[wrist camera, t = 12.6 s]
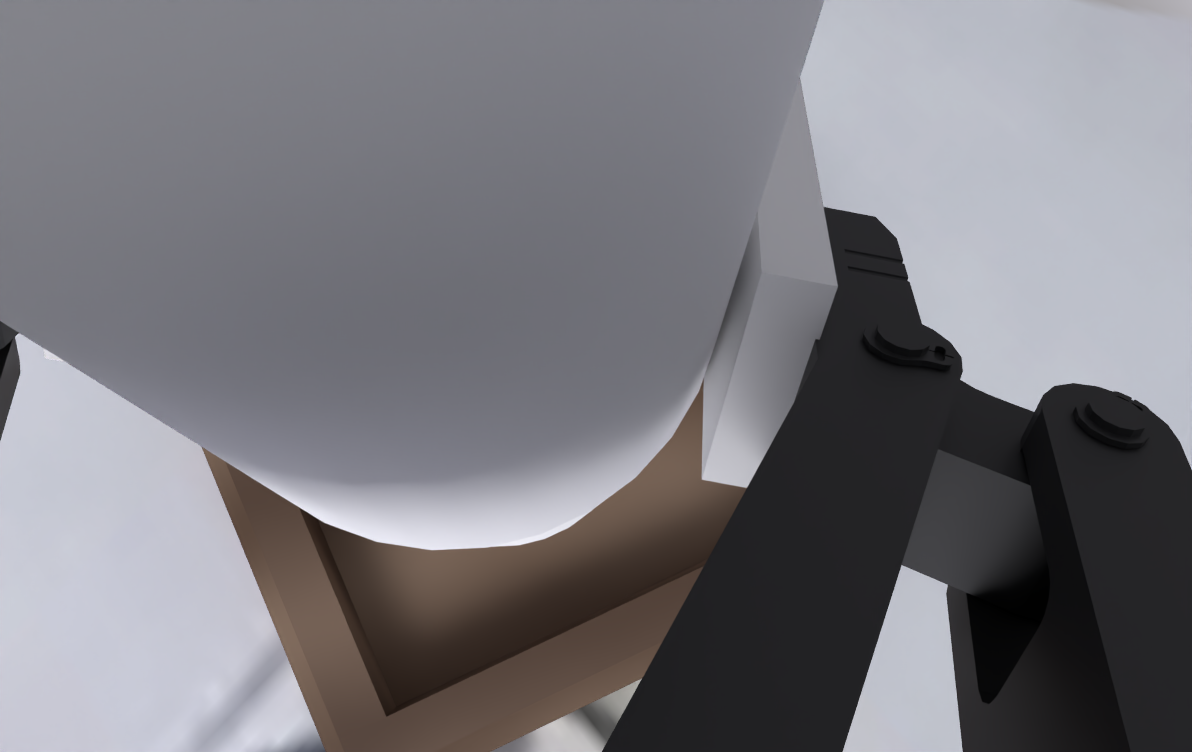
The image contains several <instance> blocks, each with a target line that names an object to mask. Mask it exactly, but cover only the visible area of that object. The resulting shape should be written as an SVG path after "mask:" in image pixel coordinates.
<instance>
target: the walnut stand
mask: <svg viewBox="0 0 1192 752" xmlns="http://www.w3.org/2000/svg"><path fill="white" fill-rule="evenodd" d="M703 392H704V378H703V381H702V384H701V387H700V390H699V392H698V394H697V396H696V397H695V399H694V401H693V402H692V404H691V406H690V407H689V409H688V411H687V413H686V414H685V416H684V418H683V419H682V421H681V423H680V424H679V426H678V428H677V429H676V431H675V433H674V435H673V436H672V438H671V439H670V440H669V441H668V442H667V443H666V444H665V446H664V447H663V448H662V449H661V450H660V451H659V452H658V453H657V454H656V456H655V457H654V458H653V459H652V460H651V461H650V462H649V463H648V464H647V466H646V467H645V468H644V469H643V470H642V471H641V472H640V473H639V474H638V476H637V477H636V478H634V479H633V480H632V481H630V482H629V483H628V484H626V485H625V486H624V487H622V488H621V489H620V490H618V491H617V492H616V493H614V494H613V495H612V496H610V497H609V498H608V499H606V500H605V501H604V502H602V503H601V504H600V505H598V506H597V507H596V508H594V509H593V510H592V511H591V512H589V513H588V514H587V515H585V516H584V517H583V518H581V519H580V520H579V521H577V522H576V523H575V524H573V525H572V526H571V527H569V528H567V529H565V530H563V531H561V532H558V533H556V534H554V535H552V536H550V537H548V538H546V539H542V540H538V541H534V542H530V543H526V544H522V545H517V546H496V547H488V548H468V549H447V550H427V549H420V548H414V547H407V546H400V545H394V544H387V543H381V542H375V541H373V540H370V539H367V538H365V537H362V536H359V535H356V534H354V533H351V532H348V531H345V530H343V529H340V528H337V527H334V526H332V525H329V524H326V523H324V522H322V521H321V520H319V519H317V518H316V517H314V516H312V515H311V514H309V513H308V512H306V511H304V510H303V509H301V508H299V507H298V506H296V505H295V504H293V503H291V502H290V501H288V500H287V499H285V498H283V497H282V496H280V495H278V494H277V493H275V492H274V491H272V490H270V489H269V488H267V487H266V486H264V485H262V484H261V483H259V482H258V481H256V480H254V479H253V478H251V477H250V476H248V475H246V474H245V473H243V472H242V471H240V470H238V469H237V468H235V467H234V466H232V465H230V464H229V463H227V462H226V461H224V460H222V459H221V458H219V457H217V456H216V455H214V454H213V453H211V452H209V451H208V450H206V449H205V448H203V447H202V449H203V451H204V454H205V456H206V459H207V461H208V464H209V466H210V469H211V471H212V474H213V476H214V478H215V481H216V483H217V486H218V488H219V491H220V493H221V496H222V498H223V501H224V503H225V505H226V508H227V510H228V513H229V515H230V518H231V520H232V523H233V525H234V527H235V530H236V532H237V535H238V537H239V540H240V542H241V545H242V547H243V550H244V552H245V554H246V557H247V559H248V562H249V564H250V567H251V569H252V572H253V574H254V577H255V579H256V581H257V584H258V586H259V589H260V591H261V594H262V596H263V599H264V601H265V603H266V606H267V608H268V611H269V613H270V616H271V618H272V621H273V623H274V626H275V628H276V630H277V633H278V635H279V638H280V640H281V643H282V645H283V648H284V650H285V653H286V655H287V657H288V660H289V662H290V665H291V667H292V670H293V672H294V675H295V677H296V679H297V682H298V684H299V687H300V689H301V692H302V694H303V697H304V699H305V702H306V704H307V706H308V709H309V711H310V714H311V716H312V719H313V721H314V724H315V726H316V729H317V731H318V733H319V736H320V738H321V741H322V743H323V746H324V748H325V751H326V752H490V751H493V750H495V749H497V748H499V747H501V746H503V745H505V744H507V743H509V742H511V741H513V740H515V739H517V738H519V737H522V736H524V735H526V734H528V733H530V732H532V731H534V730H536V729H538V728H540V727H542V726H544V725H546V724H548V723H550V722H553V721H555V720H557V719H559V718H561V717H563V716H565V715H567V714H569V713H571V712H573V711H575V710H577V709H579V708H581V707H584V706H586V705H588V704H590V703H592V702H594V701H596V700H598V699H600V698H602V697H604V696H606V695H608V694H610V693H612V692H615V691H617V690H619V689H621V688H623V687H625V686H627V685H629V684H631V683H633V682H635V681H637V680H639V679H641V678H643V676H644V674H645V672H646V671H647V669H648V667H649V665H650V663H651V662H652V660H653V658H654V656H655V654H656V652H657V651H658V649H659V647H660V645H661V643H662V642H663V640H664V638H665V636H666V634H667V632H668V631H669V629H670V627H671V625H672V623H673V622H674V620H675V618H676V616H677V614H678V612H679V611H680V609H681V607H682V605H683V603H684V602H685V600H686V598H687V596H688V594H689V592H690V591H691V589H692V587H693V585H694V583H695V581H696V580H697V578H698V576H699V574H700V572H701V571H702V569H703V567H704V565H705V563H706V561H707V560H708V558H709V556H710V554H711V552H712V551H713V549H714V547H715V545H716V543H717V541H718V540H719V538H720V536H721V534H722V532H723V531H724V529H725V527H726V525H727V523H728V521H729V520H730V518H731V516H732V514H733V512H734V511H735V509H736V507H737V505H738V503H739V501H740V500H741V498H742V496H743V494H744V492H745V491H746V489H747V488H745V487H739V486H734V485H728V484H723V483H718V482H712V481H707V480H702V439H703Z"/></svg>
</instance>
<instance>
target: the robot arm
mask: <svg viewBox="0 0 1192 752" xmlns="http://www.w3.org/2000/svg"><path fill="white" fill-rule="evenodd" d="M902 262H903V258H902V255H901V251H900V248H899V244H898V241H897V238H896V237H895V236H894V235H893V234H892V233H891V232H890V231H889V230H888V229H887V228H886V227H885V226H884V225H883V224H882V223H881V222H880V221H879V220H878V219H877V218H876V217H873V216H868V215H863V214H857V213H852V212H847V211H842V210H836V209H831V208H826V207H823V202H822V196H821V191H820V185H819V180H818V174H817V169H816V163H815V158H814V152H813V147H812V141H811V136H810V130H809V125H808V119H807V114H806V108H805V103H804V97H803V92H802V86H801V81H800V78H799V81H798V85H797V88H796V91H795V94H794V97H793V100H792V103H791V107H790V110H789V113H788V116H787V119H786V122H785V126H784V129H783V132H782V135H781V138H780V141H779V145H778V148H777V151H776V154H775V157H774V160H773V164H772V167H771V170H770V173H769V176H768V179H767V182H766V186H765V189H764V192H763V195H762V198H761V201H760V205H759V208H758V211H757V214H756V217H755V220H754V224H753V227H752V230H751V233H750V236H749V239H748V243H747V246H746V249H745V252H744V255H743V258H742V261H741V265H740V268H739V271H738V274H737V277H736V280H735V284H734V287H733V290H732V293H731V296H730V299H729V303H728V306H727V309H726V312H725V315H724V318H723V321H722V325H721V328H720V331H719V334H718V337H717V340H716V343H715V346H714V349H713V352H712V355H711V358H710V361H709V364H708V367H707V369H706V372H705V375H704V392H703V439H702V480H707V481H712V482H718V483H723V484H728V485H734V486H739V487H745V488H747V489H746V491H745V492H744V494H743V496H742V498H741V500H740V501H739V503H738V505H737V507H736V509H735V511H734V512H733V514H732V516H731V518H730V520H729V521H728V523H727V525H726V527H725V529H724V531H723V532H722V534H721V536H720V538H719V540H718V541H717V543H716V545H715V547H714V549H713V551H712V552H711V554H710V556H709V558H708V560H707V561H706V563H705V565H704V567H703V569H702V571H701V572H700V574H699V576H698V578H697V580H696V581H695V583H694V585H693V587H692V589H691V591H690V592H689V594H688V596H687V598H686V600H685V602H684V603H683V605H682V607H681V609H680V611H679V612H678V614H677V616H676V618H675V620H674V622H673V623H672V625H671V627H670V629H669V631H668V632H667V634H666V636H665V638H664V640H663V642H662V643H661V645H660V647H659V649H658V651H657V652H656V654H655V656H654V658H653V660H652V662H651V663H650V665H649V667H648V669H647V671H646V672H645V674H644V676H643V678H642V680H641V682H640V683H639V685H638V687H637V689H636V691H635V693H634V694H633V696H632V698H631V700H630V702H629V703H628V705H627V707H626V709H625V711H624V713H623V714H622V716H621V718H620V720H619V722H618V723H617V725H616V727H615V729H614V731H613V733H612V734H611V736H610V738H609V740H608V742H607V743H606V745H605V747H604V749H603V751H602V752H843V748H844V745H845V742H846V739H847V736H848V733H849V729H850V726H851V723H852V720H853V717H854V714H855V710H856V707H857V704H858V701H859V698H860V695H861V691H862V688H863V685H864V682H865V679H866V676H867V672H868V669H869V666H870V663H871V660H872V657H873V653H874V650H875V647H876V644H877V641H878V638H879V634H880V631H881V628H882V625H883V622H884V619H885V615H886V612H887V609H888V606H889V603H890V600H891V596H892V593H893V590H894V587H895V584H896V581H897V577H898V574H899V571H900V568H901V565H903V566H906V567H908V568H910V569H913V570H915V571H917V572H920V573H922V574H924V575H927V576H929V577H931V578H934V579H936V580H938V581H941V582H943V583H945V584H948V588H947V593H946V595H947V604H948V614H949V623H950V633H951V643H952V652H953V662H954V671H955V681H956V690H957V700H958V710H959V719H960V729H961V738H962V748H963V752H1192V470H1191V467H1190V465H1189V462H1188V460H1187V458H1186V455H1185V453H1184V451H1183V448H1182V446H1181V444H1180V441H1179V440H1178V439H1177V437H1176V436H1175V434H1174V433H1173V431H1172V430H1171V429H1170V427H1169V426H1168V425H1167V424H1166V423H1165V422H1164V421H1163V420H1161V419H1160V418H1159V417H1158V416H1156V415H1155V414H1154V413H1153V412H1152V411H1150V410H1149V408H1148V407H1146V406H1145V405H1143V404H1142V403H1140V402H1138V401H1137V400H1134V401H1133V400H1131V399H1132V398H1131V397H1129V396H1127V395H1124V394H1122V393H1120V392H1112V391H1109V390H1106V389H1103V388H1100V387H1097V386H1090V385H1082V384H1075V383H1072V384H1066V385H1059V386H1054V387H1053V388H1051V389H1050V390H1049V391H1048V392H1046V393H1045V394H1044V395H1043V397H1042V399H1041V400H1040V402H1039V404H1038V406H1037V408H1036V410H1035V412H1033V411H1030V410H1027V409H1025V408H1022V407H1019V406H1017V405H1014V404H1011V403H1009V402H1006V401H1003V400H1001V399H998V398H995V397H993V396H991V395H988V394H986V393H984V392H982V391H979V390H977V389H975V388H973V387H971V386H970V385H968V384H966V383H965V382H963V381H961V380H960V378H961V375H962V372H963V370H962V358H961V356H960V355H959V353H958V352H957V351H956V349H955V348H954V347H953V345H952V344H951V343H950V342H949V341H948V340H946V339H945V338H944V337H942V336H941V335H940V334H938V333H937V332H936V331H934V330H933V329H931V328H929V327H926V326H924V325H922V323H921V319H920V316H919V313H918V309H917V306H916V302H915V299H914V296H913V292H912V289H911V285H910V282H908V281H907V280H908V275H907V272H906V268H905V265H904V264H902ZM18 333H19V332H17V331H15V330H14V329H12V328H11V327H9V326H7V325H6V324H4V323H3V322H1V321H0V440H1V437H2V433H3V430H4V426H5V423H6V420H7V416H8V413H9V409H10V406H11V403H12V399H13V396H14V392H15V389H16V386H17V382H18V379H19V375H20V361H19V355H18V350H17V345H16V340H15V336H16V335H17V334H18ZM43 351H44V356H45V359H51V360H56V361H62V362H65V361H64V360H62V359H60V358H59V357H57V356H56V355H54V354H52V353H51V352H49V351H48V350H46V349H44V348H43Z"/></svg>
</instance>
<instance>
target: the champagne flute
mask: <svg viewBox="0 0 1192 752" xmlns="http://www.w3.org/2000/svg"><path fill="white" fill-rule="evenodd" d="M823 2H824V0H0V321H1V322H3V323H4V324H6V325H7V326H9V327H11V328H12V329H14V330H15V331H17V332H19V333H20V334H22V335H24V336H25V337H27V338H28V339H30V340H32V341H33V342H35V343H36V344H38V345H40V346H41V347H43V348H44V349H46V350H48V351H49V352H51V353H52V354H54V355H56V356H57V357H59V358H60V359H62V360H64V361H65V362H67V363H68V364H70V365H72V366H73V367H75V368H76V369H78V370H80V371H81V372H83V373H84V374H86V375H88V376H89V377H91V378H92V379H94V380H96V381H97V382H99V383H100V384H102V385H104V386H105V387H107V388H108V389H110V390H112V391H113V392H115V393H116V394H118V395H120V396H121V397H123V398H125V399H126V400H128V401H129V402H131V403H133V404H134V405H136V406H137V407H139V408H141V409H142V410H144V411H145V412H147V413H149V414H150V415H152V416H153V417H155V418H157V419H158V420H160V421H161V422H163V423H165V424H166V425H168V426H169V427H171V428H173V429H174V430H176V431H177V432H179V433H181V434H182V435H184V436H185V437H187V438H189V439H190V440H192V441H193V442H195V443H197V444H198V445H200V446H201V447H203V448H205V449H206V450H208V451H209V452H211V453H213V454H214V455H216V456H217V457H219V458H221V459H222V460H224V461H226V462H227V463H229V464H230V465H232V466H234V467H235V468H237V469H238V470H240V471H242V472H243V473H245V474H246V475H248V476H250V477H251V478H253V479H254V480H256V481H258V482H259V483H261V484H262V485H264V486H266V487H267V488H269V489H270V490H272V491H274V492H275V493H277V494H278V495H280V496H282V497H283V498H285V499H287V500H288V501H290V502H291V503H293V504H295V505H296V506H298V507H299V508H301V509H303V510H304V511H306V512H308V513H309V514H311V515H312V516H314V517H316V518H317V519H319V520H321V521H322V522H324V523H326V524H329V525H332V526H334V527H337V528H340V529H343V530H345V531H348V532H351V533H354V534H356V535H359V536H362V537H365V538H367V539H370V540H373V541H375V542H381V543H387V544H394V545H400V546H407V547H414V548H420V549H427V550H447V549H468V548H488V547H496V546H517V545H522V544H526V543H530V542H534V541H538V540H542V539H546V538H548V537H550V536H552V535H554V534H556V533H558V532H561V531H563V530H565V529H567V528H569V527H571V526H572V525H573V524H575V523H576V522H577V521H579V520H580V519H581V518H583V517H584V516H585V515H587V514H588V513H589V512H591V511H592V510H593V509H594V508H596V507H597V506H598V505H600V504H601V503H602V502H604V501H605V500H606V499H608V498H609V497H610V496H612V495H613V494H614V493H616V492H617V491H618V490H620V489H621V488H622V487H624V486H625V485H626V484H628V483H629V482H630V481H632V480H633V479H634V478H636V477H637V476H638V474H639V473H640V472H641V471H642V470H643V469H644V468H645V467H646V466H647V464H648V463H649V462H650V461H651V460H652V459H653V458H654V457H655V456H656V454H657V453H658V452H659V451H660V450H661V449H662V448H663V447H664V446H665V444H666V443H667V442H668V441H669V440H670V439H671V438H672V436H673V435H674V433H675V431H676V429H677V428H678V426H679V424H680V423H681V421H682V419H683V418H684V416H685V414H686V413H687V411H688V409H689V407H690V406H691V404H692V402H693V401H694V399H695V397H696V396H697V394H698V392H699V390H700V387H701V384H702V381H703V378H704V375H705V372H706V369H707V367H708V364H709V361H710V358H711V355H712V352H713V349H714V346H715V343H716V340H717V337H718V334H719V331H720V328H721V325H722V321H723V318H724V315H725V312H726V309H727V306H728V303H729V299H730V296H731V293H732V290H733V287H734V284H735V280H736V277H737V274H738V271H739V268H740V265H741V261H742V258H743V255H744V252H745V249H746V246H747V243H748V239H749V236H750V233H751V230H752V227H753V224H754V220H755V217H756V214H757V211H758V208H759V205H760V201H761V198H762V195H763V192H764V189H765V186H766V182H767V179H768V176H769V173H770V170H771V167H772V164H773V160H774V157H775V154H776V151H777V148H778V145H779V141H780V138H781V135H782V132H783V129H784V126H785V122H786V119H787V116H788V113H789V110H790V107H791V103H792V100H793V97H794V94H795V91H796V88H797V85H798V81H799V78H800V75H801V72H802V69H803V66H804V62H805V59H806V56H807V53H808V50H809V47H810V43H811V40H812V37H813V34H814V31H815V28H816V24H817V21H818V18H819V15H820V12H821V9H822V6H823Z"/></svg>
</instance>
